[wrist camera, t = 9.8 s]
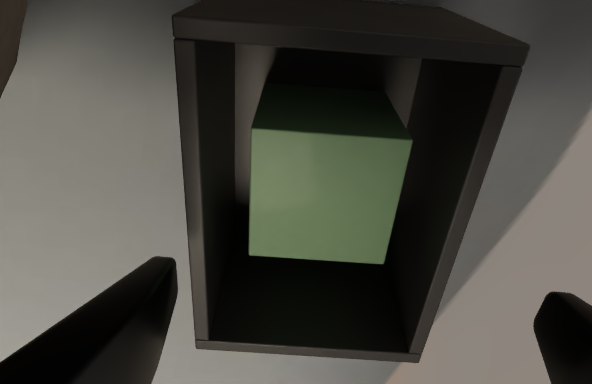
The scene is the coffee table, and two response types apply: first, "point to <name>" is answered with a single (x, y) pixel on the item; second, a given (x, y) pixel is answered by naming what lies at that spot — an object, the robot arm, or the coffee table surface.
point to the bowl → (10, 36)
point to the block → (325, 173)
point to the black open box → (416, 185)
